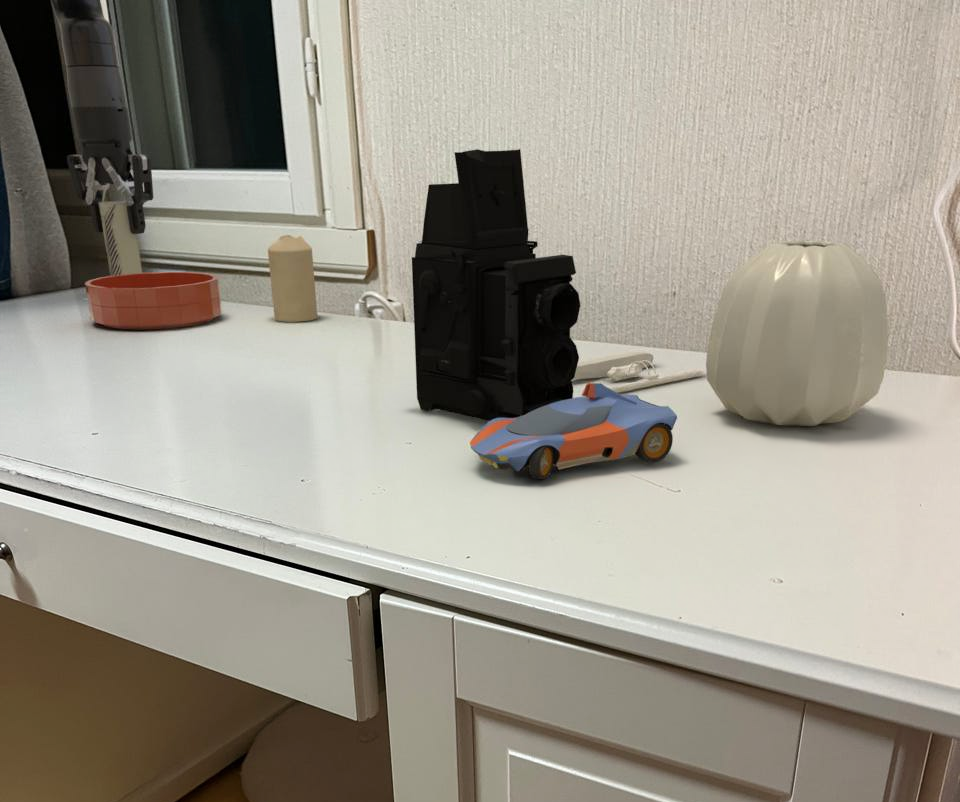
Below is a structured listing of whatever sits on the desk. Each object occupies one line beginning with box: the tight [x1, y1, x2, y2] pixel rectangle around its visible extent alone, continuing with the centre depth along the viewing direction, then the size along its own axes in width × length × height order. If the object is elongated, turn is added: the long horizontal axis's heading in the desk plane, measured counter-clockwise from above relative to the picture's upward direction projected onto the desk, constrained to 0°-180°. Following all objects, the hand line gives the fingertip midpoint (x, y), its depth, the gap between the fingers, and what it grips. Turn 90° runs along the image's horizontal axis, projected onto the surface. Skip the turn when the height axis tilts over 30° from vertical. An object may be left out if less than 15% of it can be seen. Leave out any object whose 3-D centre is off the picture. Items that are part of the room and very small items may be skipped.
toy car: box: [469, 382, 678, 480], centre depth 70 cm, size 8×15×5 cm, turn 117°
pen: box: [572, 350, 654, 380], centre depth 96 cm, size 2×14×2 cm, turn 131°
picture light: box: [606, 360, 704, 394], centre depth 93 cm, size 14×4×2 cm, turn 127°
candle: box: [267, 234, 318, 323], centre depth 126 cm, size 6×6×10 cm
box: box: [98, 200, 143, 276], centre depth 147 cm, size 5×4×13 cm
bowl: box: [84, 271, 223, 331], centre depth 127 cm, size 16×16×5 cm
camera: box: [411, 148, 581, 422], centre depth 79 cm, size 10×14×20 cm
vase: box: [705, 240, 889, 427], centre depth 79 cm, size 14×14×13 cm
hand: (120, 232), depth 146 cm, fingers closed on box, 6 cm apart
